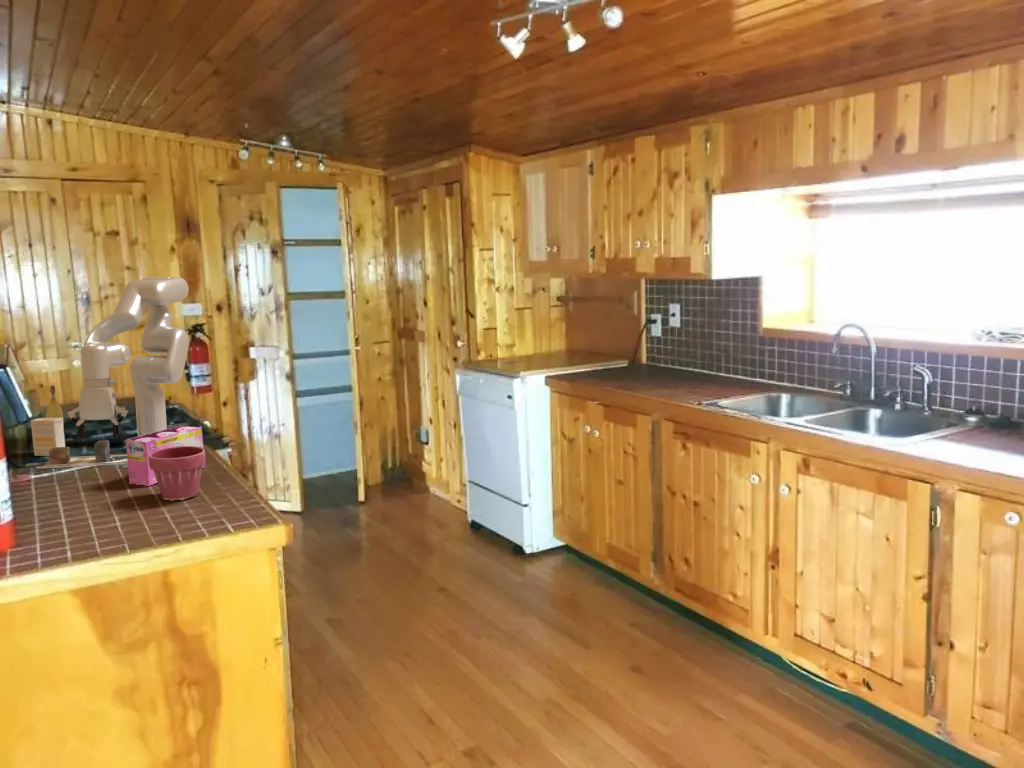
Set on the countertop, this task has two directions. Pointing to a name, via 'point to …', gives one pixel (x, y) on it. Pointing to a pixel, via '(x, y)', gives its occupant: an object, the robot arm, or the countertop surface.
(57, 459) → the block
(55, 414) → the banana
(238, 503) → the countertop surface
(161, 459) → the plant pot
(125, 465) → the rails
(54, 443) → the supplement box
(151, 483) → the gum box
